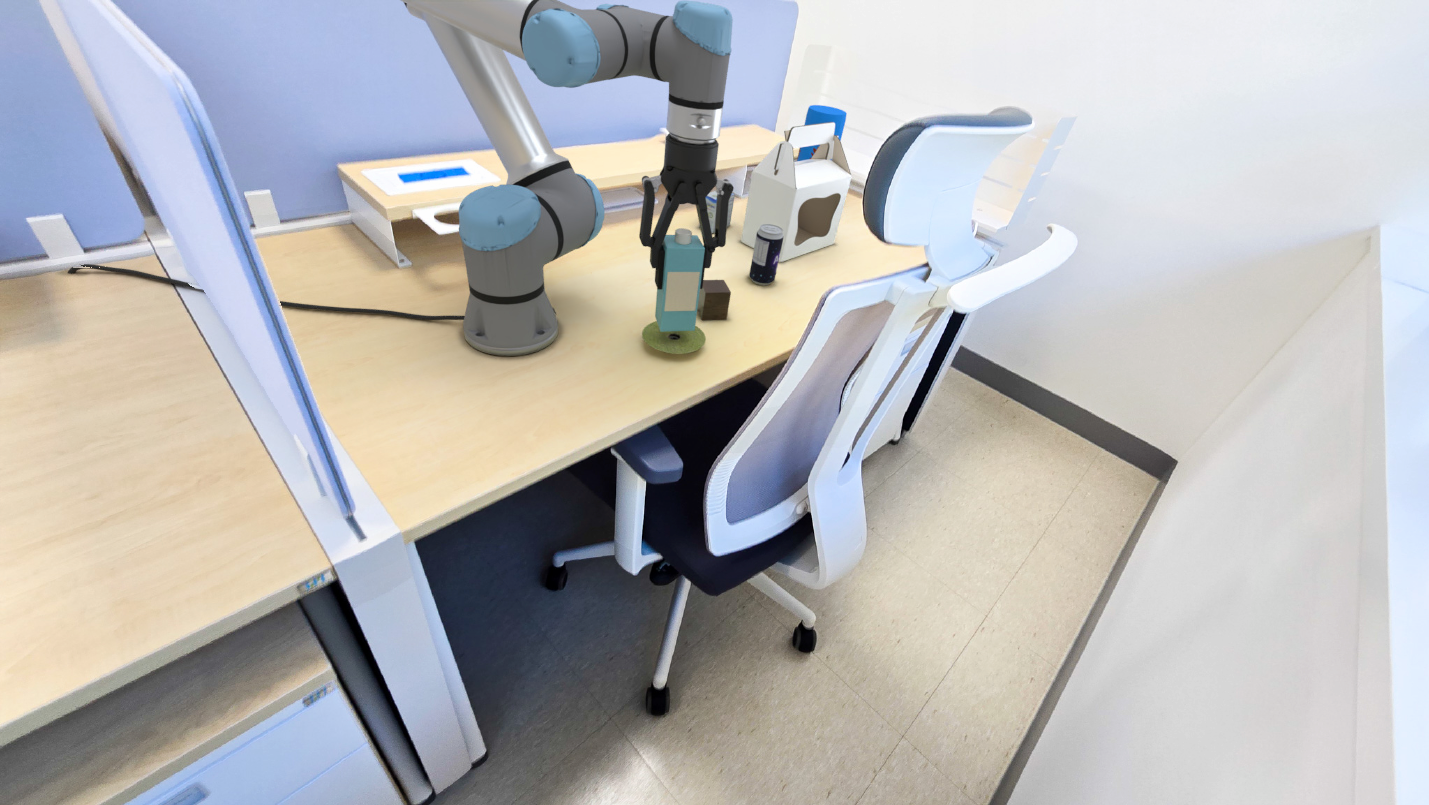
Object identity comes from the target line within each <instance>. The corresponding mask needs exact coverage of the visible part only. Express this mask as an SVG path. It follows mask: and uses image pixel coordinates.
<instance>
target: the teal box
mask: <svg viewBox="0 0 1429 805" xmlns="http://www.w3.org/2000/svg"><path fill="white" fill-rule="evenodd" d="M662 246H663V248H664V250H665V260H664V272H663V285H662V289H657V288H656V298H655V299H656V300H655V312H654V313H655V314H654V316H655V317H654V318H655V321H657V323H658V326H659V329H660V332H665V331H695V326H696V325H697V324H696V323H697V313H698V310H697V308H698V300H699V292H700V284H701V276H702V267H703V259H704V251H705V248H704V243H703V242H702V240H701V239H700V237H699V236H698V235H697V234H694V235H693V231H692V230H691V229H688V228H683V227H680V228H676V229H675V231H674V234H666V236H665V238H664V241H663V243H662Z"/></svg>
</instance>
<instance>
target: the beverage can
mask: <svg viewBox="0 0 1429 805" xmlns="http://www.w3.org/2000/svg"><path fill="white" fill-rule="evenodd" d="M783 238H784V236H783V229H782V228H780V227H779V226H776V225H772V224H763V225H761V226H760V229H759V230H758V231H757V235H756V240H755V246H754V248H753V252H752V256H751V257H752V258H751V262H750V263H751V264H750V268H749V274H748V277H749V278H750V280H751V281H752V283H753V284H755V285H758V286H769V285H770V284H771V283H774V282H775V279H776V275H777V271H778V265H779V257H780V252H781V247H782V243H783Z"/></svg>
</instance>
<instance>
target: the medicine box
mask: <svg viewBox="0 0 1429 805" xmlns="http://www.w3.org/2000/svg"><path fill="white" fill-rule="evenodd" d="M735 196H736V194H735V193H733V192H732V194H731V197H730V199H729V205H728V218H727V228H728V227H730V226H731V221H732V216H733V208H734V203H735ZM706 203H707V211H708V217H709V222H710V227H711V233H712V234H715V219H716V203H717V192H716V190H712V191H711V192H710V193H709V194H708V195H707V196H706ZM698 227H699V229H700V224H699V226H698Z"/></svg>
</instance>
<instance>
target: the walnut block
mask: <svg viewBox="0 0 1429 805" xmlns="http://www.w3.org/2000/svg"><path fill="white" fill-rule="evenodd" d="M731 294H732V291H731V290H730V288H729V286H728V285H727V282H726V281H725V279H703V287H702V289H700V292H699V300H698V308H697V313H698V315H699V316H700V320H702V321H722V320H723V321H724V320H725V321H726V320H727V319H728V312H729V308H730V301H731Z"/></svg>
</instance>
